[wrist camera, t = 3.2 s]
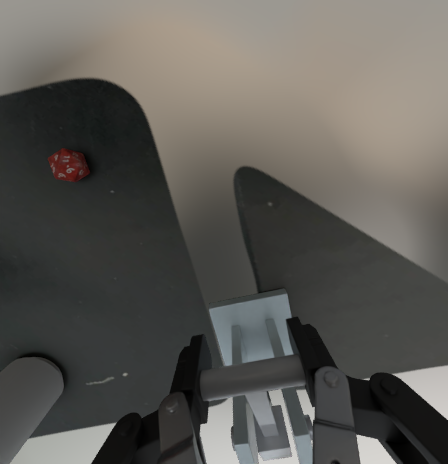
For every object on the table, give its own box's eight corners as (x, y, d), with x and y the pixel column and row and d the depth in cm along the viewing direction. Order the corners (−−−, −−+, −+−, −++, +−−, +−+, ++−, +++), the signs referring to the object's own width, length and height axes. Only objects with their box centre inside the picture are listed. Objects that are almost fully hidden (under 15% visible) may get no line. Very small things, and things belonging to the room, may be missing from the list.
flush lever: (199, 354, 12) (198, 410, 10) (293, 337, 11) (311, 391, 10) (240, 422, 19) (244, 463, 17) (300, 413, 18) (311, 454, 16)
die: (60, 154, 22) (35, 152, 19) (89, 148, 22) (68, 144, 19) (71, 183, 23) (48, 186, 20) (99, 178, 23) (80, 179, 20)
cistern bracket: (209, 303, 26) (192, 419, 14) (284, 288, 26) (336, 396, 13) (228, 368, 29) (228, 516, 17) (297, 356, 28) (351, 501, 16)
